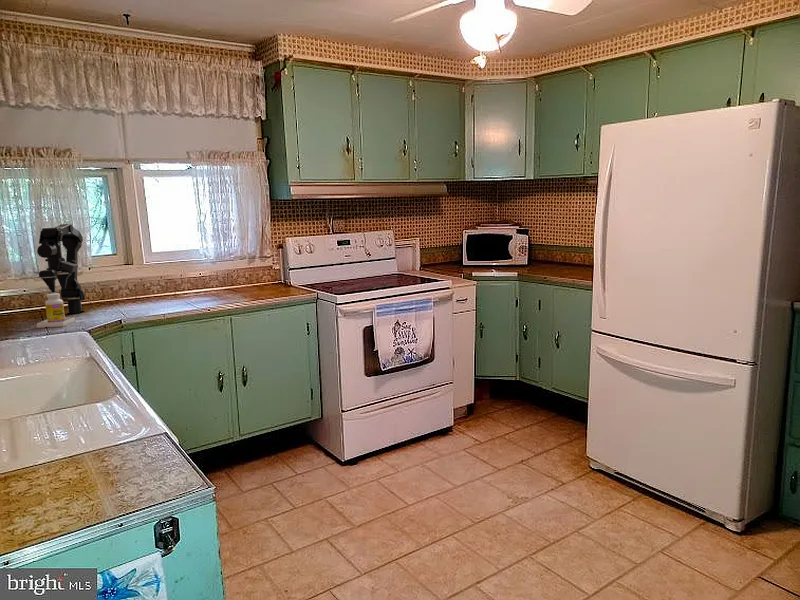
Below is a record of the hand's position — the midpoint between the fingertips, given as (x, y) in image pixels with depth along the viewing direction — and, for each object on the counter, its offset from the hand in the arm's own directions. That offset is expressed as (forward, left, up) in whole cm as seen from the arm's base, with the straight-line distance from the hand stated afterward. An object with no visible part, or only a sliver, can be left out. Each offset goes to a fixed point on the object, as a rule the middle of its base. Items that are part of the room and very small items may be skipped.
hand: (58, 291), depth 256 cm
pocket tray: (+13, +4, -13) cm, 19 cm away
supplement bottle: (+13, +4, -13) cm, 19 cm away
